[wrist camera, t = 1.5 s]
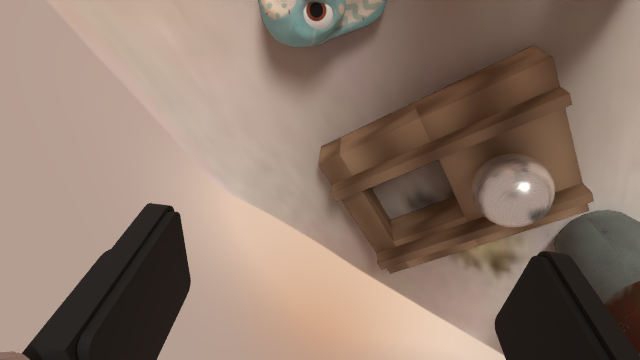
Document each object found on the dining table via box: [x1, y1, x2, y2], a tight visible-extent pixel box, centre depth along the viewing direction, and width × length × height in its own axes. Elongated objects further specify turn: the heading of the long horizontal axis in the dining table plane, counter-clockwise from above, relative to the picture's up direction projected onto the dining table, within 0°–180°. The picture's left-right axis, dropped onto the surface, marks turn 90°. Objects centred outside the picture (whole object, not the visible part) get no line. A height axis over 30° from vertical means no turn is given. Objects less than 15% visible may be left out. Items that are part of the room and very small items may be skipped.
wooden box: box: [318, 46, 594, 274], centre depth 34 cm, size 20×16×5 cm
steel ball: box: [472, 154, 555, 227], centre depth 29 cm, size 6×6×6 cm
